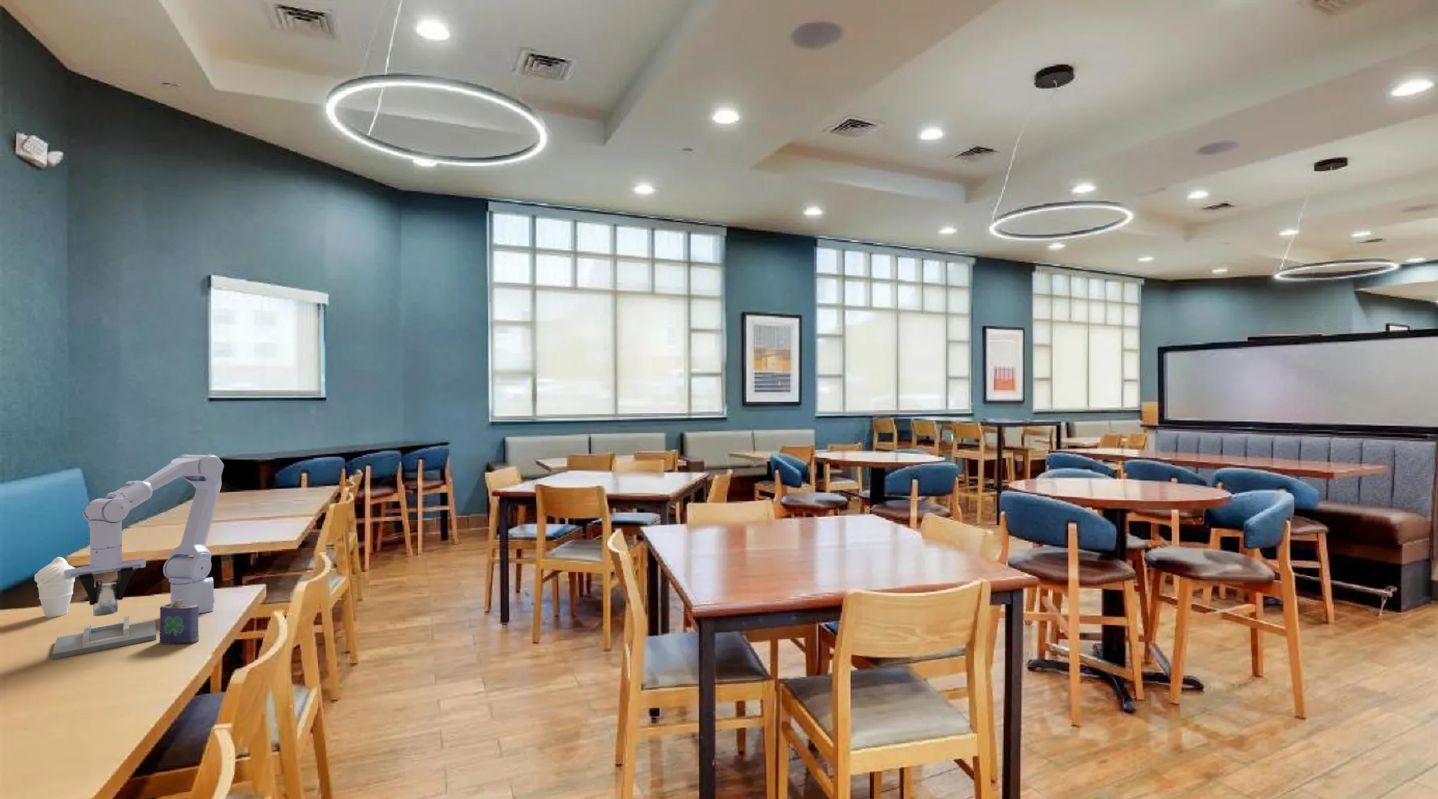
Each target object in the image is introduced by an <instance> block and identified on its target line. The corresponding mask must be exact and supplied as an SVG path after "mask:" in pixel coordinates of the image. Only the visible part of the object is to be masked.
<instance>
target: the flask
mask: <svg viewBox="0 0 1438 799" xmlns="http://www.w3.org/2000/svg"><path fill="white" fill-rule="evenodd" d="M183 600H184V599H182V598H181V599H176V600H173V601H174V602H176V603H171V602H170V603H167V604H164V605H161V606H160V607H159V644H160V643H161V644H160V645H188V644H189V645H190V644H197V642H199V641H200V639H199V638H200V634H199V613H198V611H199V606H198V605H182V601H183Z"/></svg>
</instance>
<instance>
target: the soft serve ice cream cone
mask: <svg viewBox="0 0 1438 799" xmlns="http://www.w3.org/2000/svg"><path fill="white" fill-rule="evenodd" d="M74 568H75V567H74V566H72V565H70V564H68V561H67V560H66V559H65V558H64V557H61V556H58V557H57V556H56V557H55V558H54V559H53V560H52V561H51V562H50V563H49V564H46V565H45V566H44V567H42V568H40V569H39V570H38V571H37V572H36V573H35V574H34V582H35V583H37V585H36V587H37V588H38V589H37V590H38V596H39V597H38V599H39V600H40V603H41V608H42V610H43V614H44V617H45V618H56V616H57V617H60V616H64V614H65V615H67V614H68V611H69V608H70V604H71V601H72V597H73V596H72V595H73V594H74V585H75V584H74V583H75V581H76V577H73V578H70V579H64V570H68V569H74ZM66 613H67V614H66Z"/></svg>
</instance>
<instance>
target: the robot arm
mask: <svg viewBox="0 0 1438 799" xmlns="http://www.w3.org/2000/svg"><path fill="white" fill-rule="evenodd" d="M224 468H225V464H224V463H223V461H222V460H221V459H220V457H218V456H217V455H215V454H188V453H185V454H181V455H179V456H178V457H177V458H174V459H172V460H171V462H170V463H169V464H167V465H166V466H164V467H162V468H161V469H160V470H158V471H156V472H155V473H153V474H152V475H150V476H148V477H147V478H145V479H144V480H143V481H142V480H129V481H127V482H125V483H124V484H125V485H124V486H122V487H121V488H119V489H117V490H115V491H113V492H109V493H107V494H106V496H105V497H104V498H96V499H93V500H91V501H90V502H89V503H88V504H87V505H86V508H85V509H84V510H83V511H82V516H83V518H84V519H85V520H86V521H87V523H88V528H89V565H85V566H80V567H74V569H68V570H64V579H70V578H73V577H75V578H77V579H78V580H79V582H80V583H81V585H82V586H83V588H84V590H85V593H86V595H87V597H88V598H87V599H88V603H89V604H88V605H90V606H93V605H94V604H95V599H94V586H95V578H94V575H99V574H104V573H105V574H106V573H112V572H117V574H116V575H117V583H118V601H121V600H122V601H123V597H124V593H125V590H126V588H127V586H128V585H129V584H128V583H129V581H130V580H131V578H132V576H133V575H134V572H135V571H134V569H138V568H139V569H140V568H141V569H143V568H146V566H147V565H146V564H147V562H146V559H145V558H139V559H128V560H123V520H125V519H126V518H127V516H128V514H129V512H130V511H132V510H133V509H134V508H136V507H137V506H138V507H139V506H140V505H141V504H142V503H144V502H145V501H149V499H151V498H152V496H153V492H154V491H156V490H157V489H159V488H161V487H163V486H166V485H167V484H169V483H171V482H173V481H174V480H176V479H179V478H182V479H184V480H185V481H187V482H188V483H190V484H191V485H192V486H193V488H195V492H194V495H193V500H192V503H191V506H190V510H189V513H188V518H187V520H186V524H185V528H184V532H183V535H182V539H181V542H180V544H179V545H178V546H177V547H175V548H174V549H173V550H172V551H171V552H170V554H169V557H168V558H167V560H166V561H165V562H164V565H163V566H162V568H163V569H162V573H163V575H164V577H166V579H168V583H170V603H176V602H174V601H173V600H176V599H181V598H182V599H184V600H183V601H182V605H198V606H199V611H198V614H203V613H208V612H213V611H214V610H215V609H214V604H215V596H214V594H215V593H214V577H213V576H211V577H208V575H209V574H210V572H211V569H212V562H211V561H212V552H211V551H210V550H209V549H208V548H207V546H206V544H207V542H208V541H207V540H208V537H209V532H210V529H211V526H212V522H213V518H214V514H215V511H216V507H217V503H218V500H219V496H220V491H221V490H222V483H223V482H222V475H223V470H224Z"/></svg>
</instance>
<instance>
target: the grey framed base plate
mask: <svg viewBox="0 0 1438 799" xmlns="http://www.w3.org/2000/svg"><path fill="white" fill-rule="evenodd" d="M156 628H157V627H156V620H148V621H144V622H137V623H133V624H132V623H131V624H130V616H123V621H121V622H116V623H111V624H104V625H99V626H92V622H87V623H85V624H84V629H83V632H80V633H74V634H70V635H64V636H59V637H56V640H55V644H54V646H53V649H52V652H51V660H55V659H57V660H58V659H62V658H66V656H67V657H72V656H76V655H81V654H82V655H83V654H88V653H92V652H98V651H103V650H109V649H114V648H119V647H124V646H129V644H130V645H135V644H140V643H145V642H144V641H146V642H149V641H148V640H151V641H154V640H155V641H156V640H157V630H156ZM108 648H109V649H108Z"/></svg>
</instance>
